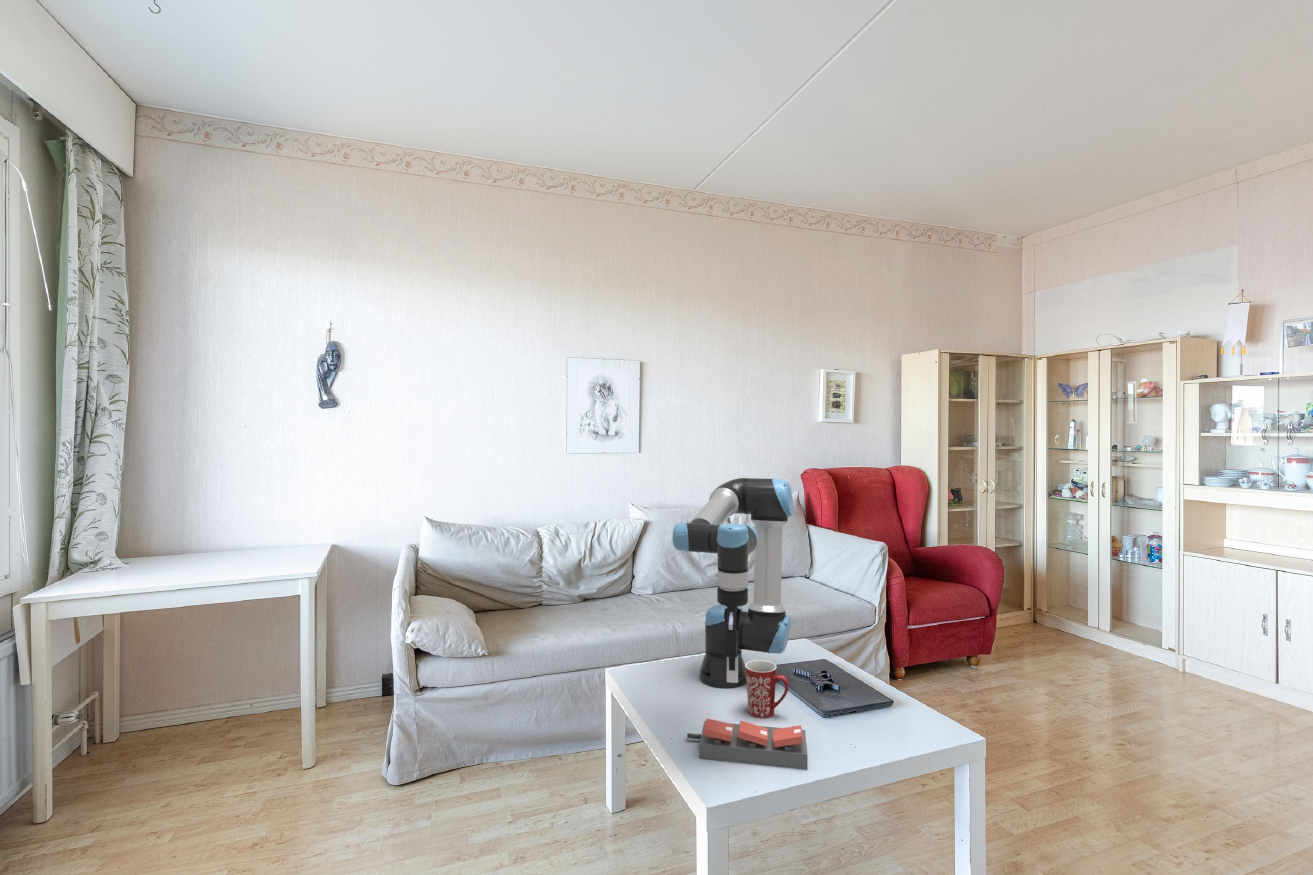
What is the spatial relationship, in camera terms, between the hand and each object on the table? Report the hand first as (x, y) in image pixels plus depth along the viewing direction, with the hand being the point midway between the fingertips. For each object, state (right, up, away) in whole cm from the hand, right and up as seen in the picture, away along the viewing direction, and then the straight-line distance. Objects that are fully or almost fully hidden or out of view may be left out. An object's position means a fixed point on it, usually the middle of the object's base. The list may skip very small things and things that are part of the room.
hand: (732, 681), depth 155 cm
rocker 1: (-3, -13, +1) cm, 13 cm away
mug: (+12, -18, +22) cm, 31 cm away
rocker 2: (+13, -13, -2) cm, 19 cm away
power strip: (+4, -18, +2) cm, 19 cm away
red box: (+5, -13, -1) cm, 14 cm away
